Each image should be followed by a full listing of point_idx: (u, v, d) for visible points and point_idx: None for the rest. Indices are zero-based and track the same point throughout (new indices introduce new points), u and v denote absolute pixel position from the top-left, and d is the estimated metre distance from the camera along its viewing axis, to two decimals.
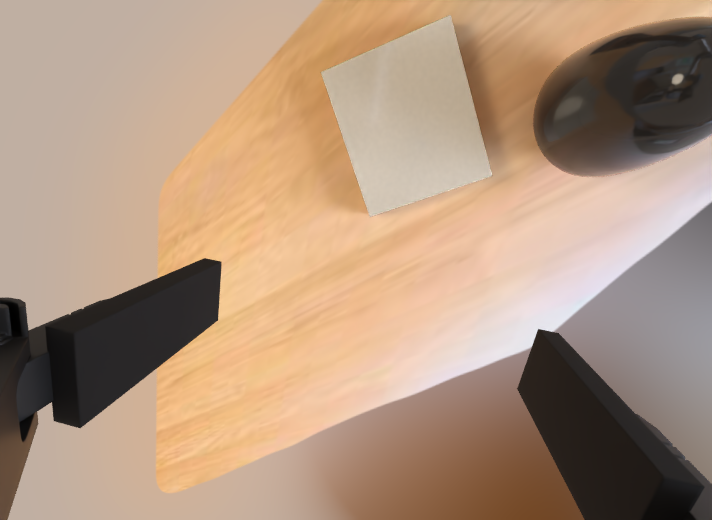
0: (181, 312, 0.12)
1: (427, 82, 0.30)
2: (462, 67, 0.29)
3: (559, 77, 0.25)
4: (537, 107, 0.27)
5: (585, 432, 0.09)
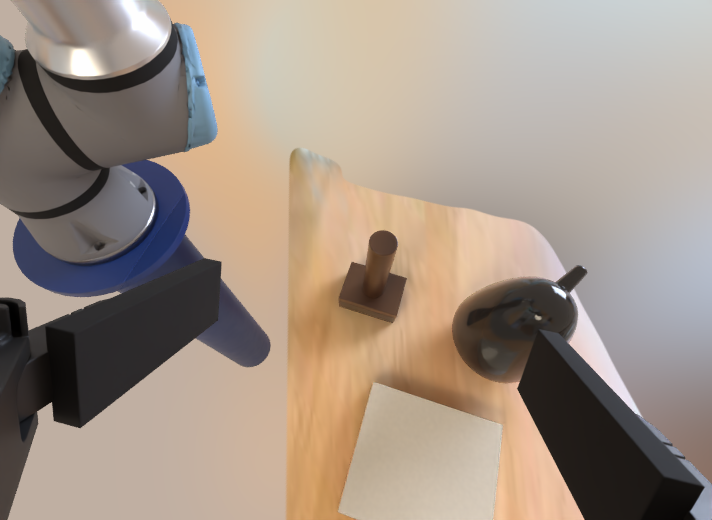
0: (181, 312, 0.12)
1: (405, 427, 0.34)
2: (411, 395, 0.36)
3: (470, 351, 0.34)
4: (476, 370, 0.35)
5: (585, 432, 0.09)
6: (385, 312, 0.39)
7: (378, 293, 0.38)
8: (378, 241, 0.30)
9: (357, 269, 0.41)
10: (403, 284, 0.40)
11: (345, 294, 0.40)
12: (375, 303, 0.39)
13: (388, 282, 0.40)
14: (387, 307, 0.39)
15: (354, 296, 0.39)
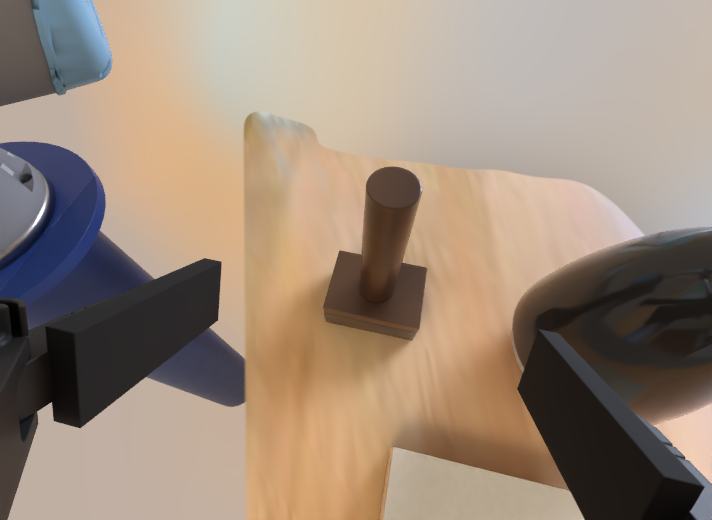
0: (181, 312, 0.12)
1: None
2: (462, 466, 0.20)
3: None
4: None
5: (585, 432, 0.09)
6: (400, 324, 0.24)
7: (387, 293, 0.23)
8: (383, 185, 0.16)
9: (349, 261, 0.26)
10: (423, 277, 0.26)
11: (333, 300, 0.25)
12: (382, 311, 0.24)
13: (399, 276, 0.26)
14: (402, 316, 0.24)
15: (348, 303, 0.24)
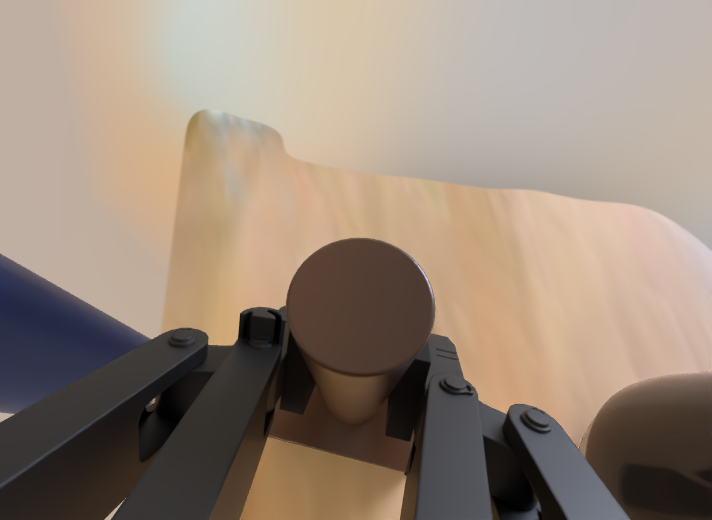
0: None
1: None
2: None
3: None
4: None
5: None
6: (391, 467, 0.14)
7: (368, 419, 0.14)
8: (331, 297, 0.06)
9: None
10: None
11: (280, 420, 0.15)
12: (361, 441, 0.14)
13: None
14: (395, 451, 0.14)
15: (304, 425, 0.15)
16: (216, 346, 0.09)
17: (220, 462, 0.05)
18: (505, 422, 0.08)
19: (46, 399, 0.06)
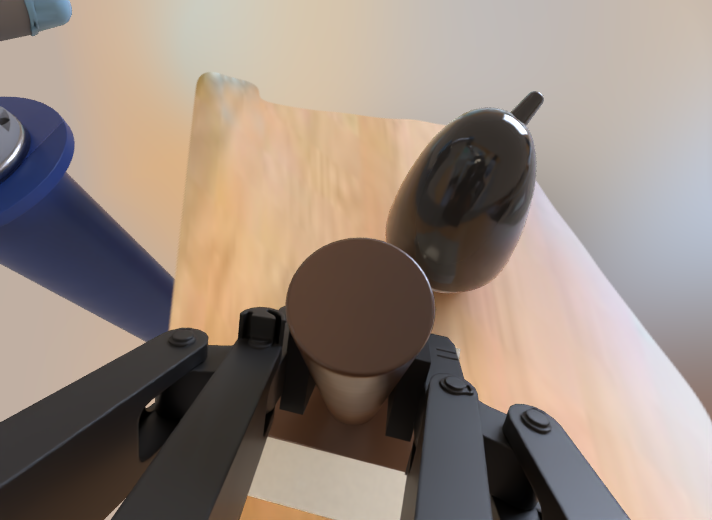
0: None
1: None
2: None
3: (404, 247, 0.25)
4: None
5: None
6: (391, 467, 0.14)
7: (367, 419, 0.14)
8: (331, 296, 0.06)
9: None
10: None
11: (279, 421, 0.15)
12: (361, 441, 0.14)
13: None
14: (395, 451, 0.14)
15: (304, 425, 0.15)
16: (216, 346, 0.09)
17: (220, 462, 0.05)
18: (505, 422, 0.08)
19: (46, 399, 0.06)
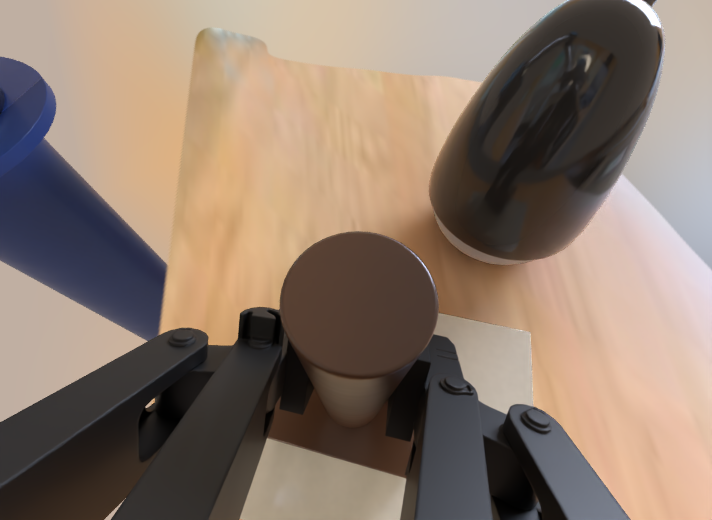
0: None
1: None
2: None
3: (461, 201, 0.19)
4: (475, 240, 0.20)
5: None
6: (389, 472, 0.14)
7: (366, 422, 0.13)
8: (328, 293, 0.05)
9: None
10: None
11: (276, 421, 0.14)
12: (360, 445, 0.14)
13: None
14: (394, 455, 0.14)
15: (301, 426, 0.14)
16: (216, 346, 0.09)
17: (220, 463, 0.05)
18: (505, 422, 0.08)
19: (46, 399, 0.06)
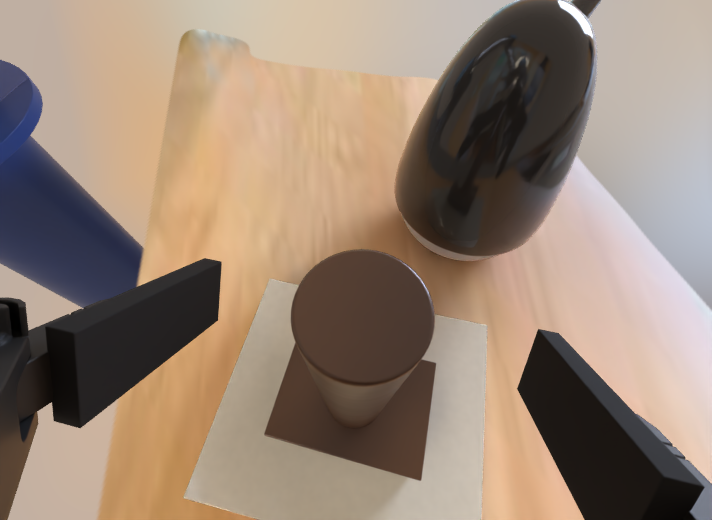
0: (181, 312, 0.12)
1: None
2: None
3: (418, 198, 0.20)
4: (434, 236, 0.21)
5: (585, 432, 0.09)
6: (390, 470, 0.14)
7: (368, 422, 0.14)
8: (334, 306, 0.06)
9: None
10: (430, 381, 0.16)
11: (281, 421, 0.15)
12: (361, 444, 0.15)
13: None
14: (394, 454, 0.14)
15: (305, 427, 0.15)
16: None
17: None
18: None
19: None
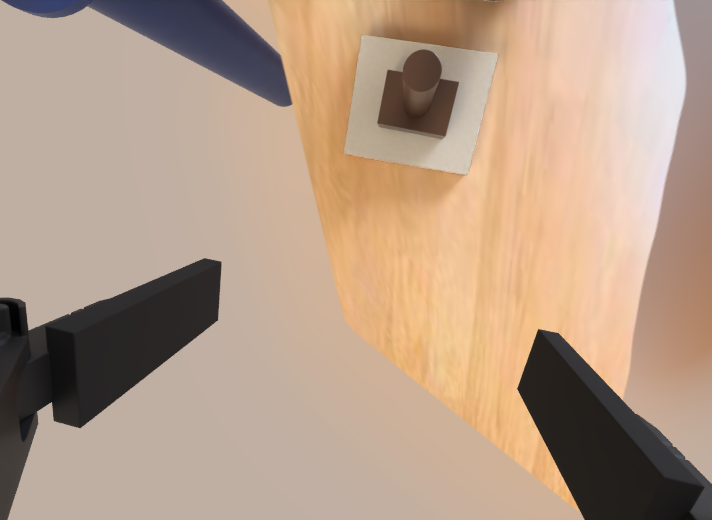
0: (181, 312, 0.12)
1: None
2: (402, 41, 0.35)
3: None
4: None
5: (585, 432, 0.09)
6: (432, 133, 0.34)
7: (423, 113, 0.32)
8: (414, 70, 0.23)
9: (395, 79, 0.33)
10: (454, 92, 0.32)
11: (384, 117, 0.34)
12: (420, 123, 0.33)
13: (435, 92, 0.33)
14: (434, 127, 0.33)
15: (394, 118, 0.34)
16: None
17: None
18: None
19: None
